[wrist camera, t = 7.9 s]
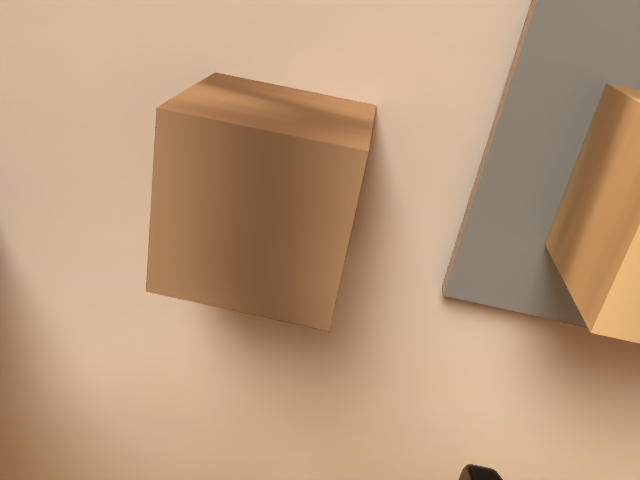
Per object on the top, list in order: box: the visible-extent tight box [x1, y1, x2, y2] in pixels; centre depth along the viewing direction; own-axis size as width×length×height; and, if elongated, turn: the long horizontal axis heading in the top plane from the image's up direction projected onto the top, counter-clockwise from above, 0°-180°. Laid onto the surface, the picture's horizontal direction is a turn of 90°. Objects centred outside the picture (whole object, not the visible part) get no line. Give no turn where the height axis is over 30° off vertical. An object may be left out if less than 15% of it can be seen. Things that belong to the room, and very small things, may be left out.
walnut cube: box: [146, 73, 376, 331], centre depth 17 cm, size 5×5×5 cm
